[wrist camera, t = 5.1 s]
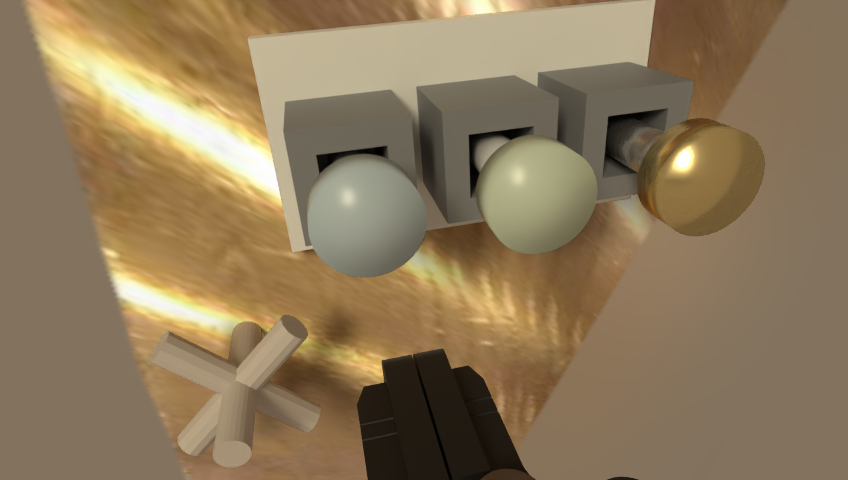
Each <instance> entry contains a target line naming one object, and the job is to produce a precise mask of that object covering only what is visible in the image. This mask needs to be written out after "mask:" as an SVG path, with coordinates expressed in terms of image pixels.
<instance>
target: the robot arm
mask: <svg viewBox="0 0 848 480" xmlns="http://www.w3.org/2000/svg"><path fill="white" fill-rule="evenodd" d="M382 368H383V376H384V383H380V384H375V385H370V386H365V387H363V390H362V393H361V396H360V398H359V401H358V404H357V407H358V414H359V421H360V428H361V435H362V442H363V449H364V456H365V463H366V470H367V477H368V480H535V479H534V478H533V477H532V476H530V475H529V474H528V472H527V471H526V470H525V468H524V467H523V465H522V463H521V461H520V458H519V456H518V454H517V452H516V450H515V447H514V445H513V443H512V441H511V438H510V436H509V434H508V432H507V430H506V427H505V425H504V423H503V421H502V419H501V416H500V414H499V413H498V411H497V408H496V405H495V403H494V401H493V399H492V398H491V394H490V392H489V390H488V388H487V386H486V383H485V381H484V379H483V378H482V377H481V376H480V375H479V374H477V373H476V372H475V371H474V370H473V369H472V368H471V367H469V366H464V367H459V368H454V369H451V367H450V364H449V361H448V359H447V356H446V354H445V351H444V350H443V349H437V350H432V351H427V352H422V353H417V354H413V357H412V355H407V356H402V357H397V358H392V359H387V360H382ZM608 480H638V479H634V478H629V477H615V478H611V479H608Z"/></svg>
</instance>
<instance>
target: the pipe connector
mask: <svg viewBox="0 0 848 480" xmlns="http://www.w3.org/2000/svg"><path fill="white" fill-rule="evenodd" d="M307 336H308V332H307V329H306V328H305V326H304V325H303V324H302V323H301V322H300V321H299V320H297V319H296V318H295V317H292V316H290V315H283V316H282V317H281V318H280V319H279V321H278V322H277V323H276V324H275V325H274V326H273V327H272V329H271V330H270V331H269V332H268V333H267V334H266V335H265V337H264V338H263V339H262V340H261V337H262V331H261V328H260V327H259V326H258V325H257V324H255V323H253V322H242V323H240V324H238V325H237V326H235V328H234V329H233V334H232V340H231V346H230V352H229V358H228V360H227V359H225V358H223V357H221V356H219V355H216V354H214V353H212V352H210V351H208V350H206V349H204V348H202V347H200V346H198V345H196V344H194V343H192V342H190V341H188V340H186V339H184V338H182V337H180V336H177V335H175V334H173V333H171V332H166V333H165V334H164V335H163V336H162V338H161V339H160V341H159V342H158V343H157V345H156V347H155V348H154V350H153V352H152V354H151V356H150V358H149V362H150V363H152V364H154V365H156V366H159V367H161V368H163V369H165V370H168V371H170V372H172V373H174V374H176V375H179V376H181V377H183V378H185V379H188V380H190V381H192V382H194V383H196V384H199V385H201V386H203V387H205V388H207V389H210V390H212V391H214V392H215V394H214V395H213V396H212V397H211V398H210V399H209V400H208V402H207V403H206V404H205V405H204V406H203V407H202V408H201V410H200V411H199V412H198V413H197V414H196V415H195V416H194V418H193V419H192V420H191V421H190V422H189V423H188V424H187V425H186V427H185V428H184V429H183V430H182V431H181V433H180V434H179V436H178V444H179V446H180V447H181V449H182V450H183V451H184V452H186V453H187V454H189V455H195V456H197V455H200V454H202V453H203V452H204V451H205V450H206V449H207V448H208V447H209V446H210V445H211V444H212V442H213V441H214V440H215V443H214V449H213V459H214V461H215V462H216V463H217V464H219V465H221V466H224V467H237V466H241V465H243V464H245V463H246V462H247V461H248V460H249V459H250V457H251V454H252V443H253V431H254V419H255V410H256V411H258V412H261V413H263V414H265V415H267V416H269V417H272V418H274V419H276V420H278V421H281V422H283V423H285V424H287V425H289V426H292V427H294V428H296V429H298V430H301V431H303V432H306V433H308V432H309V431H310V430H312V429H313V427H314V426H315V425H316V423H317V421H318V419H319V416H320V411H321V408H320V405H319V404H317V403H315V402H313V401H311V400H309V399H307V398H305V397H303V396H301V395H299V394H297V393H295V392H292V391H290V390H288V389H286V388H284V387H282V386H280V385H278V384H276V383H274V382H272V381H270V380H269V379H270V378H271V377H272V376H273V375H274V374H275V373H276V371H277V370H278V369H279V368H280V367H281V366H282V365H283V364H284V363H285V361H286V360H287V359H288V358H289V357H290V356H291V355H292V354H293V353H294V352H295V350H296V349H297V348H298V347H299V346H300V345H301V344H302V343H303V342H304V340H305V339H306V338H307Z"/></svg>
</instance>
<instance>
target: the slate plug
mask: <svg viewBox="0 0 848 480" xmlns="http://www.w3.org/2000/svg"><path fill="white" fill-rule="evenodd" d="M328 163H329V166H328V167H327V168H325V169H324V170H323V171H322V172H321V173H320V174H319V175H318V177H317V178H316V180H315V181H314V183H313V185H312V187H311V189H310V192H309V195H308V200H307V220H308V233H309V238H310V242H311V244H312V246H313V249H314V250H315V252H316V254H317V255H318V256H319V257H320V259H321V260H322V261H323V262H324V263H325V264H327V265H328V266H329V267H331V268H332V269H334V270H336V271H338V272H340V273H343V274H345V275H349V276H354V277H375V276H380V275H384V274H386V273H389V272H392V271H394V270H396V269H397V268H399V267H401V266H402V265H404V264H405V263H406V262H407V261H409V259H410V258H411V257H412V256H413V255H414V254H415V253H416V252H417V250H418V249H419V247H420V245H421V243H422V241H423V239H424V236H425V233H426V227H427V213H426V208H425V205H424V202H423V200H422V198H421V196H420V194H419V192H418V190H417V189H416V187H415V185H414V183H413V181H412V180H411V178H410V177H409V175H408V174H407V173H406V172H405V170H404V169H403V168H401V167H400V166H399V165H398V164H396V163H395V162H393V161H391V160H389V159H387V158H385V157H381V156H378V155H372V154H370V152H369V149H368V148H365V149H357V150H350V151H342V152H335V153H328Z"/></svg>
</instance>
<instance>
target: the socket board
mask: <svg viewBox="0 0 848 480" xmlns="http://www.w3.org/2000/svg"><path fill="white" fill-rule="evenodd" d="M654 6H655V0H621V1H611V2H600V3H590V4H580V5H569V6H559V7H548V8H538V9H528V10H517V11H507V12H496V13H486V14H476V15H465V16H455V17H444V18H434V19H424V20H413V21H403V22H392V23H382V24H372V25H361V26H351V27H341V28H330V29H320V30H309V31H299V32H289V33H278V34H268V35H257V36H249V38H248V43H249V48H250V52H251V57H252V62H253V67H254V71H255V76H256V81H257V86H258V90H259V95H260V100H261V105H262V109H263V114H264V119H265V124H266V128H267V133H268V138H269V143H270V148H271V152H272V157H273V162H274V167H275V171H276V176H277V181H278V186H279V190H280V195H281V200H282V205H283V209H284V214H285V219H286V224H287V228H288V233H289V238H290V243H291V248H292V252H297V251H303V250H309V249H313V246H312V244H311V242H310V238H309V233H308V220H307V200H308V195H309V192H310V189H311V187H312V185H313V183H314V181H315V180H316V178H317V177H318V175H319V174H320V173H321V172H322V171H323V170H324V169H325V168H327V167H328V166H329V163H328V153H335V152H342V151H350V150H357V149H365V148H368V149H369V152H370V154H372V155H378V156H381V157H385V158H387V159H389V160H391V161H393V162H395V163H396V164H398V165H399V166H400V167H401V168H403V169H404V170H405V172H406V173H407V174H408V175H409V177H410V178H411V180H412V181H413V183H414V185H415V187H416V189H417V190H418V192H419V194H420V196H421V198H422V200H423V202H424V205H425V208H426V213H427V227H426V231H428V230H435V229H441V228H447V227H453V226H460V225H466V224H472V223H478V222H485V221H484V219H483V218H482V216H481V214H480V212H479V210H478V207H477V203H476V196H475V194H476V184H477V180H478V176H479V174H480V173H479V172H478V171H477V170H476V169H475V167H474V166H473V165H472V164H471V163H470V162H469V135H471V134H478V133H486V132H493V131H500V132H501V133H503V134H504V135H505V136H506V137H508V138H509V139H510V140H513V139H515V138H518V137H521V136H525V135H535V134H536V135H544V136H549V137H551V138H554V139H556V140H558V141H559V142H561V143H562V144H564V145H565V146H567V147H568V148H570V149H571V150H573V151H574V152H576V153H577V154H579V155H580V156H582V157H583V158H584V159H585V160H586V161H587V162H588V163H589V165H590V166H591V168H592V169H593V171H594V174H595V177H596V180H597V188H598V191H597V201H596V204H597V203H604V202H610V201H616V200H623V199H629V198H631V195H634V194H638V192H637V177H638V173H637V172H636V171H634V170H632V169H631V168H629V167H628V166H626V165H624V164H623V163H621V162H619V161H618V160H616V159H614V158H613V157H611V156H609V155H608V154H606V153H605V145H606V134H607V123H608V116H614V115H621V114H626V115H628V116H631V117H633V118H635V119H637V120H640V121H642V122H644V123H646V124H648V125H651V126H653V127H655V128H657V129H659V130H662V131H664V132H665V131H667V130H668V129H670V128H671V127H673V126H674V125H676V124H679V123H681V122H683V121H686V120H688V115H689V109H690V103H691V97H692V91H693V85H694V80H690V79H687V78H683V77H680V76H676V75H673V74H669V73H666V72H663V71H659V70H656V69H652V68H649V67H647V62H648V54H649V46H650V38H651V30H652V22H653V14H654Z"/></svg>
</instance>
